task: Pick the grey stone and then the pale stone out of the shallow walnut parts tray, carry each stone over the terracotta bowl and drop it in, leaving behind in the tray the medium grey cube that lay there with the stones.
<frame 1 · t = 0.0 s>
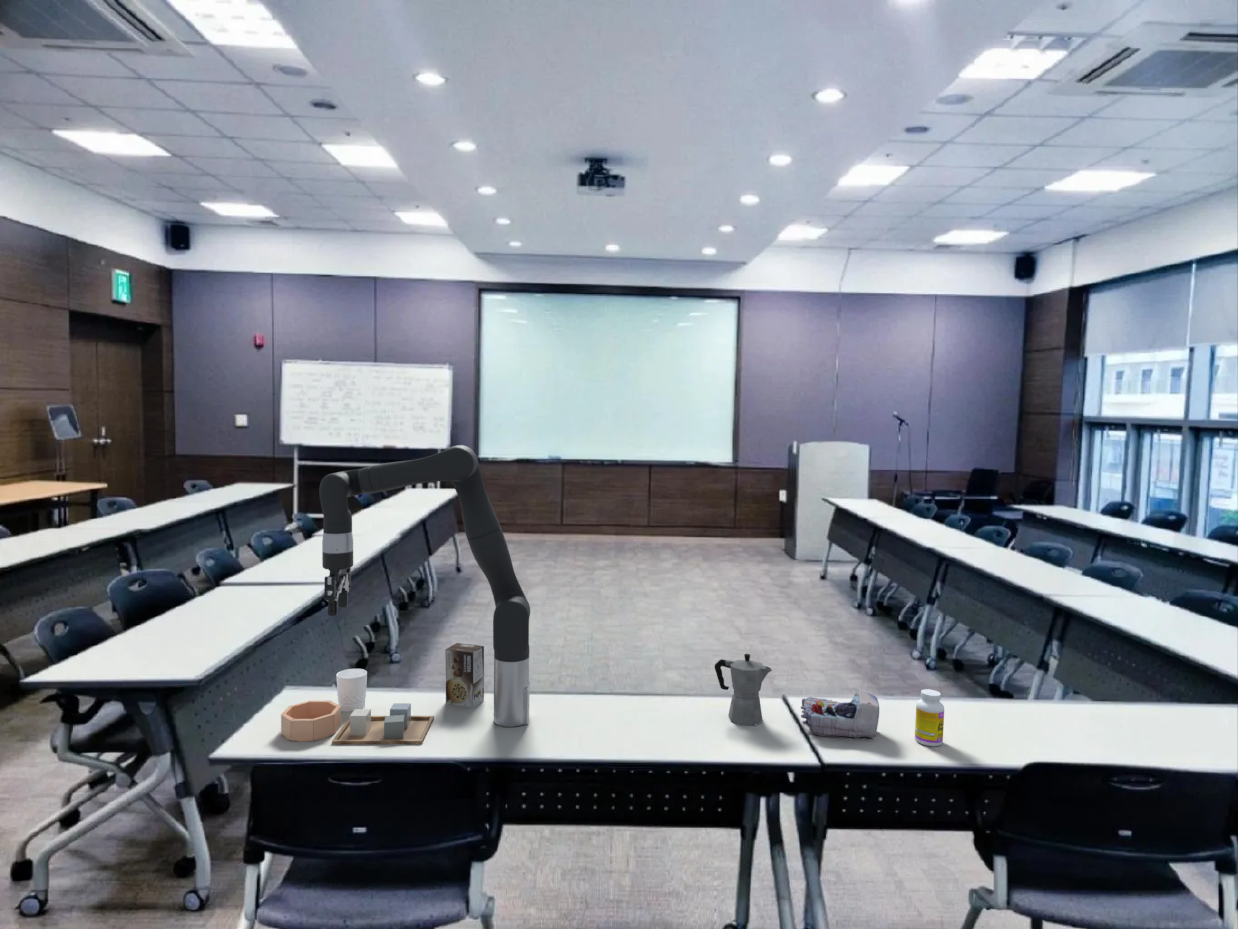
hand: (338, 611, 199), 29 cm above the table, fingers open, 8 cm apart
medium grey cube: (394, 735, 191), point 1 cm above the table, touching walnut tray
white cup: (351, 709, 209), on the table
pale stone: (360, 731, 193), point 1 cm above the table, touching walnut tray
walnut tray: (385, 733, 194), on the table
coffeepot: (741, 719, 208), on the table
coffee box: (464, 704, 215), on the table
supplement bottle: (928, 742, 195), on the table
terracotta bowl: (311, 732, 193), on the table
cell model: (838, 731, 201), on the table
grey stone: (400, 725, 198), point 1 cm above the table, touching walnut tray
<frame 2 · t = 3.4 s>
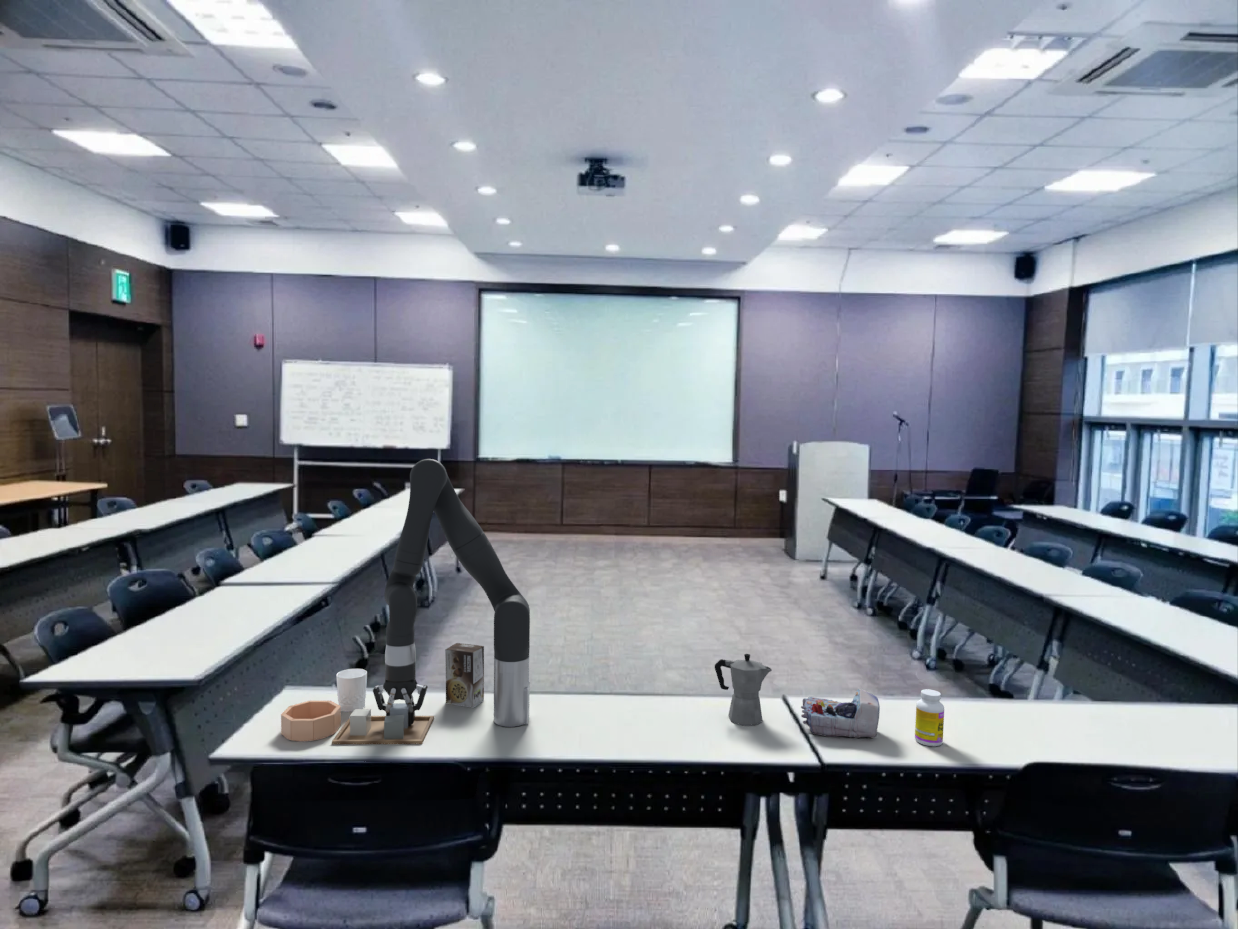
hand: (400, 724, 198), 1 cm above the table, fingers closed on grey stone, 4 cm apart
grey stone: (400, 725, 198), point 1 cm above the table, touching gripper, walnut tray
everything else where it was.
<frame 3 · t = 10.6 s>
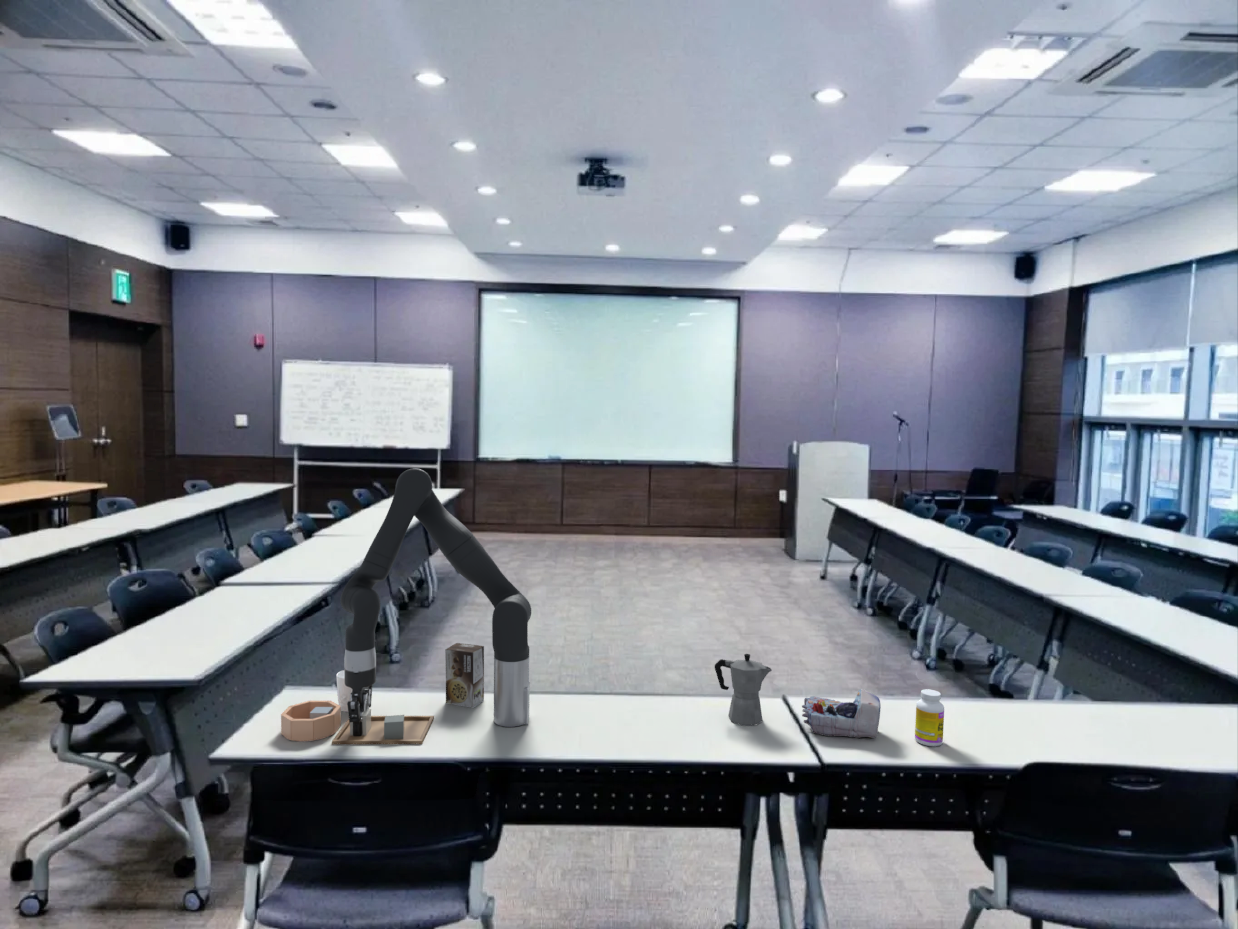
hand: (360, 731, 193), 1 cm above the table, fingers closed on pale stone, 4 cm apart
pale stone: (360, 731, 193), point 1 cm above the table, touching gripper, walnut tray
grey stone: (321, 729, 194), point 1 cm above the table, touching terracotta bowl
everything else where it was.
when the fingers open (9 cm above the table, at t = 13.7 s): pale stone drops 8 cm, resting on terracotta bowl.
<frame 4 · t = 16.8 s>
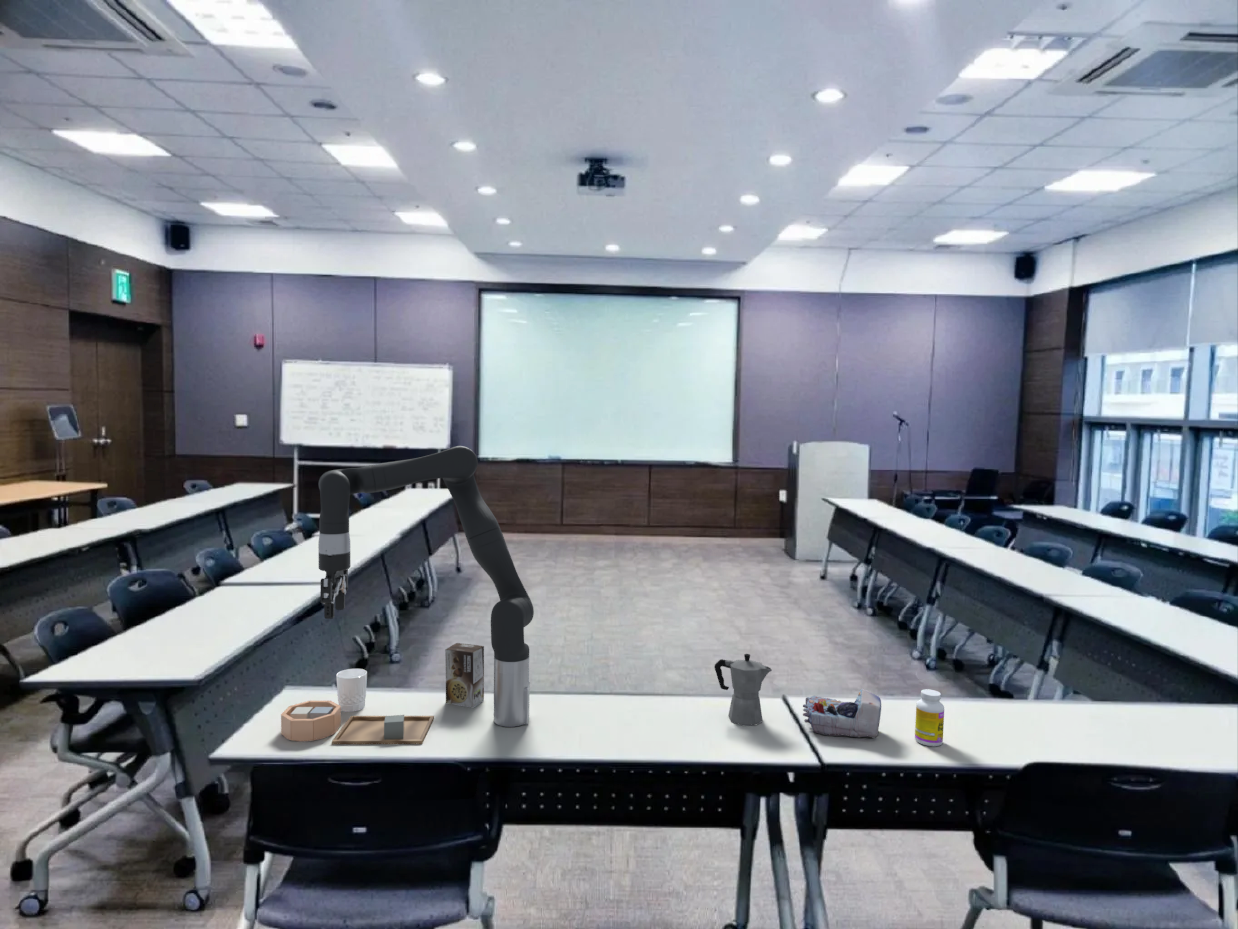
hand: (334, 613, 193), 30 cm above the table, fingers open, 8 cm apart
pale stone: (302, 729, 193), point 1 cm above the table, touching terracotta bowl
everything else where it was.
at the end: grey stone inside the target area on the terracotta bowl (2.5 cm from its centre), point 0.8 cm above the terracotta bowl's base; pale stone inside the target area on the terracotta bowl (2.3 cm from its centre), point 0.8 cm above the terracotta bowl's base; medium grey cube moved 0.0 cm from its start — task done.
